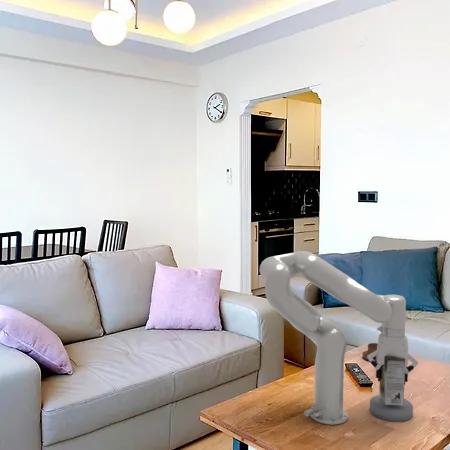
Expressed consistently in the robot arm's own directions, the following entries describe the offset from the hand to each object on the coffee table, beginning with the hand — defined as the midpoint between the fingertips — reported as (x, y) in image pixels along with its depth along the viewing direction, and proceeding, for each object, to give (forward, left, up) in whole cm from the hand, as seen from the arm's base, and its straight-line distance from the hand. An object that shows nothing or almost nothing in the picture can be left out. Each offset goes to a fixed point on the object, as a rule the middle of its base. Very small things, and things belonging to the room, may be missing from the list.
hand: (391, 381), depth 168 cm
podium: (0, 0, -11) cm, 11 cm away
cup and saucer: (+38, +36, -11) cm, 54 cm away
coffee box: (0, 0, -7) cm, 7 cm away
